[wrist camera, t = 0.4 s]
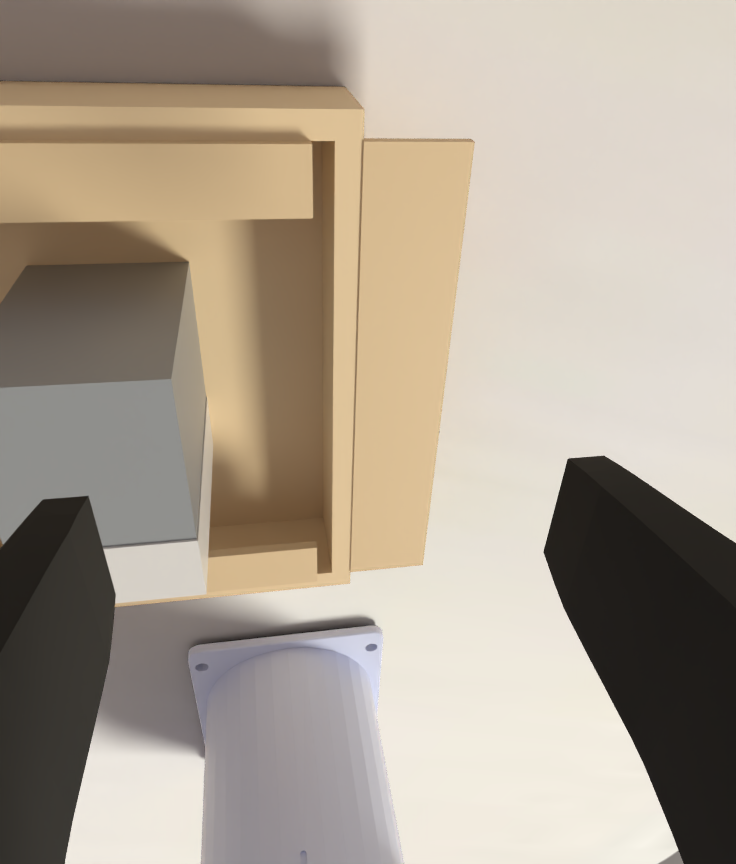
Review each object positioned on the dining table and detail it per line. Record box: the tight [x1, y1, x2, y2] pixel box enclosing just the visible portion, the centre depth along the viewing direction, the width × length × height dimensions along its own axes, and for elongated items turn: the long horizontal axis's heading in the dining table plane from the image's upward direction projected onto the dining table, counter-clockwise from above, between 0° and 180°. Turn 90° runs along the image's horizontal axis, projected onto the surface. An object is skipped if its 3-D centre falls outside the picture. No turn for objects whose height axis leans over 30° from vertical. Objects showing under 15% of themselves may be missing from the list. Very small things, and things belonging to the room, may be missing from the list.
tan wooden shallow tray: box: [0, 81, 475, 607], centre depth 18 cm, size 14×17×3 cm
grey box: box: [0, 262, 213, 603], centre depth 16 cm, size 6×4×6 cm
